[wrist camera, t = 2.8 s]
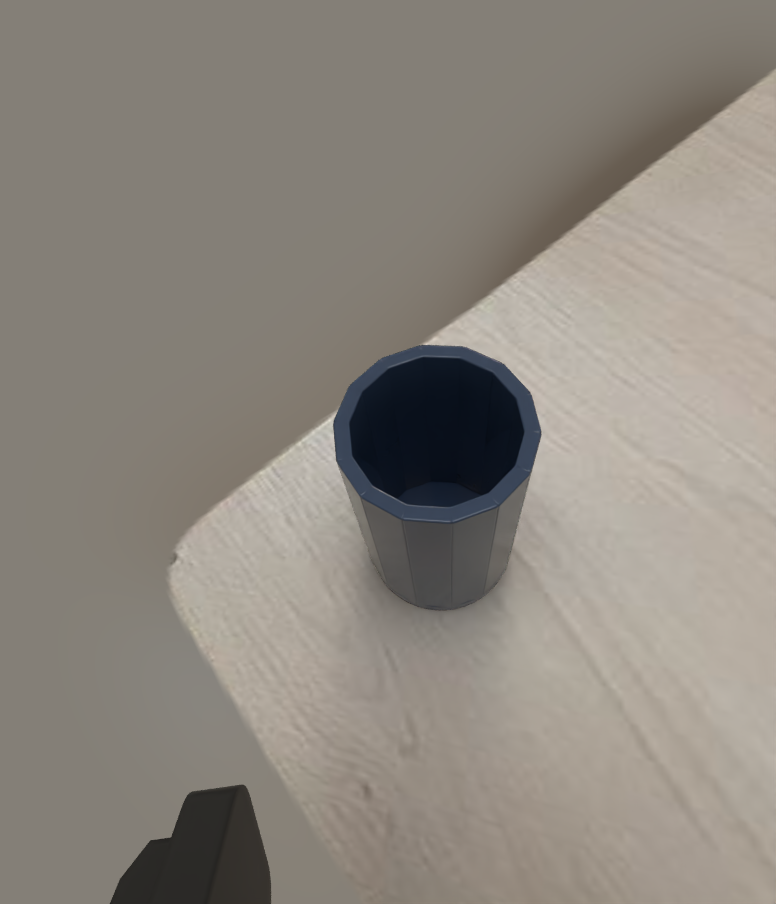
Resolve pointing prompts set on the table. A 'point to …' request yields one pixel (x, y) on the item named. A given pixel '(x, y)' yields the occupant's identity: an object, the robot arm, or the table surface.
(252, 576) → the table surface
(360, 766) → the table surface
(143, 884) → the robot arm
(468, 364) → the cup
